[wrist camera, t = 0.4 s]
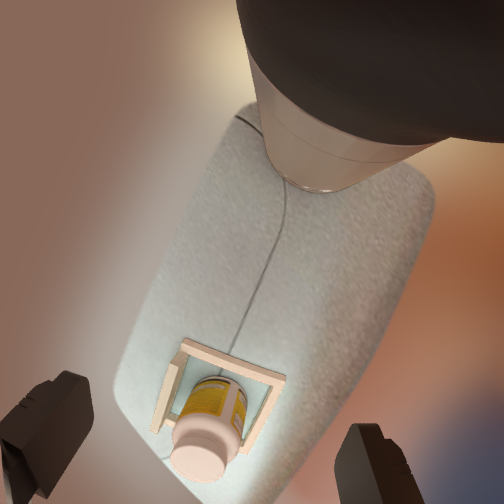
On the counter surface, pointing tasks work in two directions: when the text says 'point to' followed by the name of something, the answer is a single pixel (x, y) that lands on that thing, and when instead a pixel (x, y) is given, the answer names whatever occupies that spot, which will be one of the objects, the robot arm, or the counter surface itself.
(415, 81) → the robot arm
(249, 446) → the beige open frame
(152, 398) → the counter surface
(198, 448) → the supplement bottle
